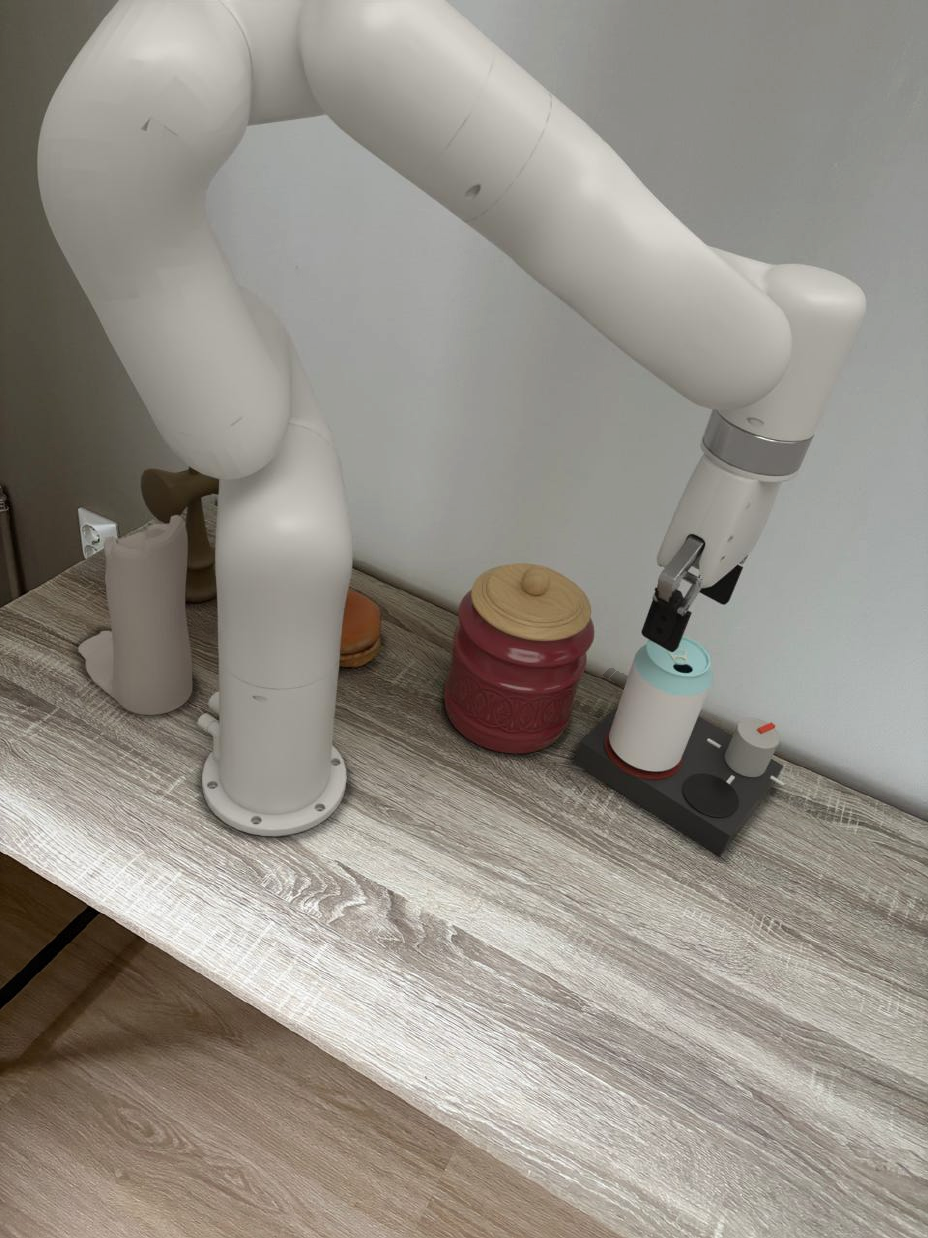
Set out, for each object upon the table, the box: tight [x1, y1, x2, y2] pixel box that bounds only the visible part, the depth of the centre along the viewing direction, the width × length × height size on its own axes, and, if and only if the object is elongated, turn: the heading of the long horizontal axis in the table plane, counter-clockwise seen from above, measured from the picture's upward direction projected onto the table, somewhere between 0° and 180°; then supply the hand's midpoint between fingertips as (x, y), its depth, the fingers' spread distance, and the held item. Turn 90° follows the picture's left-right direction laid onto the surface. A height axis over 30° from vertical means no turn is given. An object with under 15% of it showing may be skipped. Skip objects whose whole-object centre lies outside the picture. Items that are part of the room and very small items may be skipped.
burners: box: [604, 728, 739, 818], centre depth 93 cm, size 14×12×1 cm
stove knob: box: [725, 717, 781, 777], centre depth 93 cm, size 4×4×4 cm
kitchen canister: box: [443, 562, 596, 754], centre depth 94 cm, size 13×13×18 cm
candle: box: [77, 515, 193, 716], centre depth 90 cm, size 7×14×20 cm, turn 51°
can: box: [609, 635, 713, 771], centre depth 89 cm, size 7×7×12 cm
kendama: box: [140, 466, 219, 603], centre depth 101 cm, size 6×10×20 cm, turn 139°
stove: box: [573, 705, 786, 858], centre depth 95 cm, size 17×14×3 cm
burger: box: [339, 588, 382, 668], centre depth 102 cm, size 10×9×5 cm
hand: (685, 618), depth 83 cm, fingers open, 9 cm apart
